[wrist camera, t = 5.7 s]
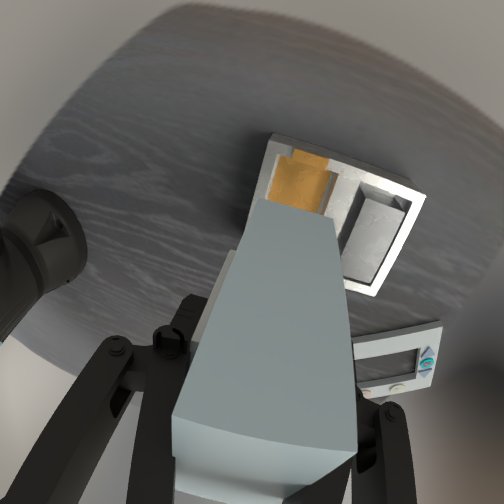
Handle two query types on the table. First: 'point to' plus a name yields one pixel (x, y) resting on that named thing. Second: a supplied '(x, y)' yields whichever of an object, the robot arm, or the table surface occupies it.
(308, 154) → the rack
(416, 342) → the electronic device
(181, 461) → the block
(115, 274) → the table surface
